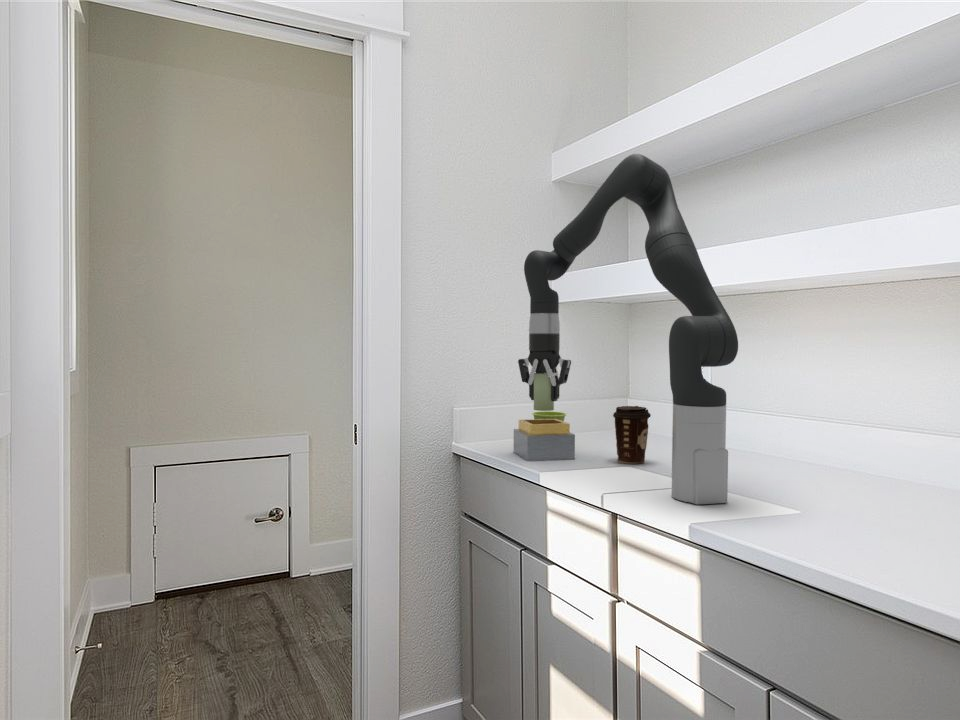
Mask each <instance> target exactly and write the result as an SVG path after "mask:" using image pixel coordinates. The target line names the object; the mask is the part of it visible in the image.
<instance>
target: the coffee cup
mask: <svg viewBox="0 0 960 720" xmlns="http://www.w3.org/2000/svg"><path fill="white" fill-rule="evenodd" d="M612 416H613V418H614V427H615V440H616V444H615V445H616V454H617V463H619V464H620V463H621V464H630V465H631V464H633V465H634V464H635V465H636V464H642V463H644V462H645V461H646V450H647V445H648V444H647V443H648V435H649V422H648V421H649V418H651V416H652V415H651V413H650V412H649V409H647V407H645V406H638V405H634V406H633V405H623V406H617V407H616V408H615V412H613V415H612Z"/></svg>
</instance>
